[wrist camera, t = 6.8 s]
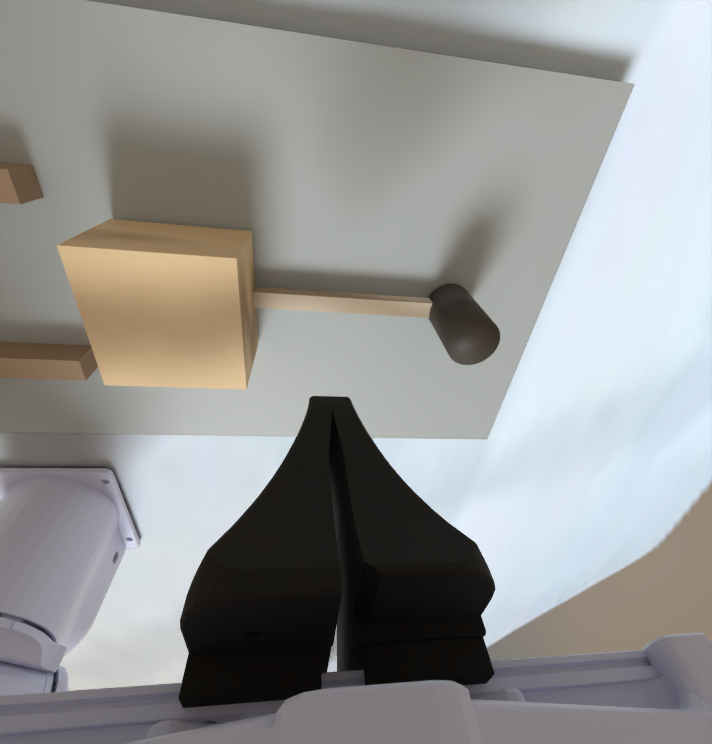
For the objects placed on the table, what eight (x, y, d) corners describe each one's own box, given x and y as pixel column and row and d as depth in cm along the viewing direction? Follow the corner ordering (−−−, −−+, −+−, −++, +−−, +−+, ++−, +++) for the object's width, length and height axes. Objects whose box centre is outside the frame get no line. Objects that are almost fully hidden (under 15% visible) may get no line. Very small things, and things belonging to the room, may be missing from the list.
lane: (482, 429, 27) (495, 455, 25) (-102, 419, 22) (-144, 449, 20) (618, 85, 16) (662, 81, 14) (-490, -83, 11) (-672, -128, 9)
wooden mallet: (454, 353, 22) (479, 396, 18) (140, 339, 19) (104, 385, 16) (485, 250, 18) (522, 279, 15) (109, 218, 16) (56, 245, 13)
